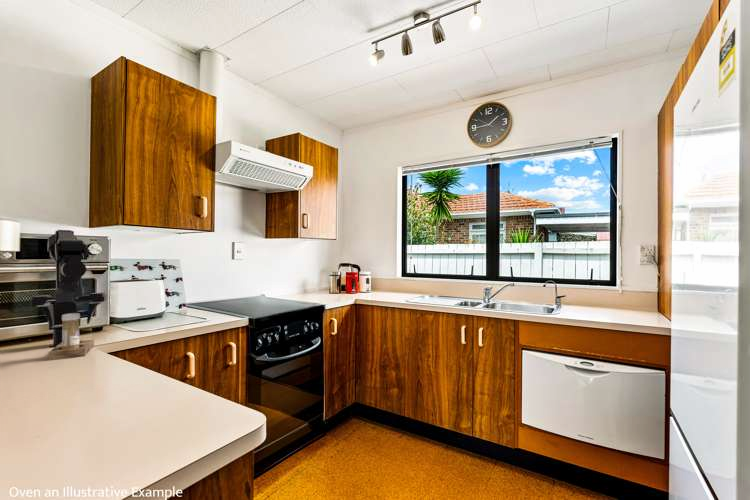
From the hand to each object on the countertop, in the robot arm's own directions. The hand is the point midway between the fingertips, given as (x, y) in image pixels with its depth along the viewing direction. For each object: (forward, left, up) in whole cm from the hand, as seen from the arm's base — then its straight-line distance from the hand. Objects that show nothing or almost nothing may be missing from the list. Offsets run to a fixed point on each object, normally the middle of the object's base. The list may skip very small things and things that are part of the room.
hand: (70, 325), depth 119 cm
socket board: (-4, 0, -10) cm, 10 cm away
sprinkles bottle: (0, 0, -10) cm, 10 cm away
